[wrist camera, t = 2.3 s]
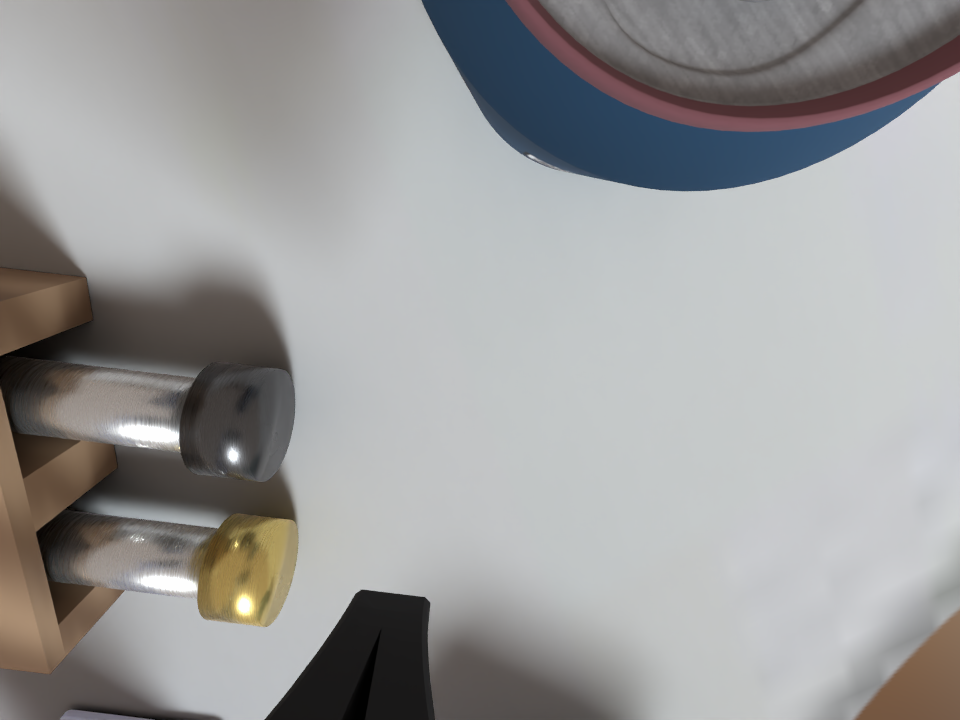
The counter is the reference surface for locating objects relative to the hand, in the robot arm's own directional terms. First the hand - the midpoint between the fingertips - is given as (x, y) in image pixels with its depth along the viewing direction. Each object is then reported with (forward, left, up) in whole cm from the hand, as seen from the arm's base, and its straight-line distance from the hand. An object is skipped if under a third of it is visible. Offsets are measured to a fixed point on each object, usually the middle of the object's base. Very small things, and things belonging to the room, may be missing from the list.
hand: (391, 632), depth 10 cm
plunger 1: (0, +10, -9) cm, 14 cm away
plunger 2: (-6, +10, -9) cm, 15 cm away
